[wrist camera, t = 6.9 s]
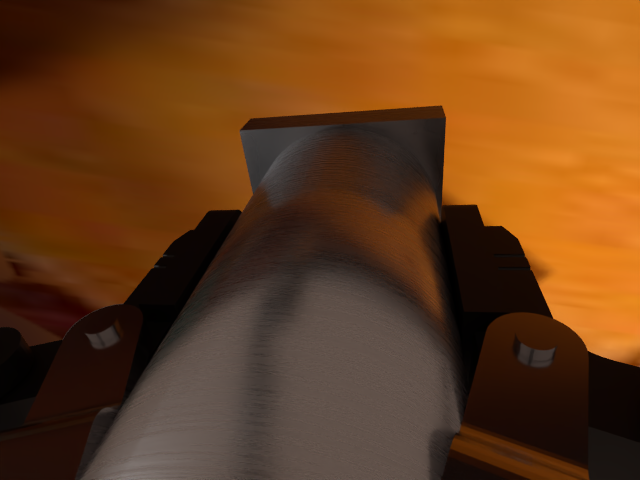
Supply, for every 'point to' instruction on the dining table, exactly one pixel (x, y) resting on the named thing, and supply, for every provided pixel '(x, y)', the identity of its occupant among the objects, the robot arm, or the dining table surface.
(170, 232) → the dining table surface
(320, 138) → the salt shaker
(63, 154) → the dining table surface
